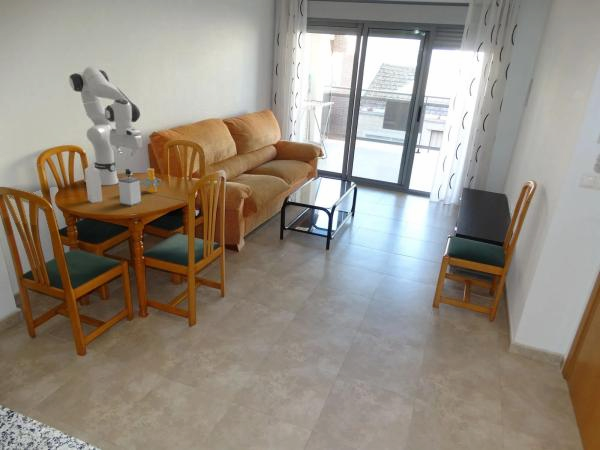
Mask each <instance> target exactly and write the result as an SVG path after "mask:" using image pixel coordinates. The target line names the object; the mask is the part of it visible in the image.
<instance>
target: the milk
mask: <svg viewBox="0 0 600 450" xmlns="http://www.w3.org/2000/svg"><path fill="white" fill-rule="evenodd" d="M94 167H95V166H94V165H93V164H91V163H88V166H87V167H86V168H85V169H84V176H85V179H86V182H85V183H86V184H85V185H86V186H85V187H86V193H87V194H86V195H87V200H88V201H89V202H90V203H92V204H94V203H100V202H103V193H102V185H101V182H100V173H99V170H97V169H95V168H94Z"/></svg>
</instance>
